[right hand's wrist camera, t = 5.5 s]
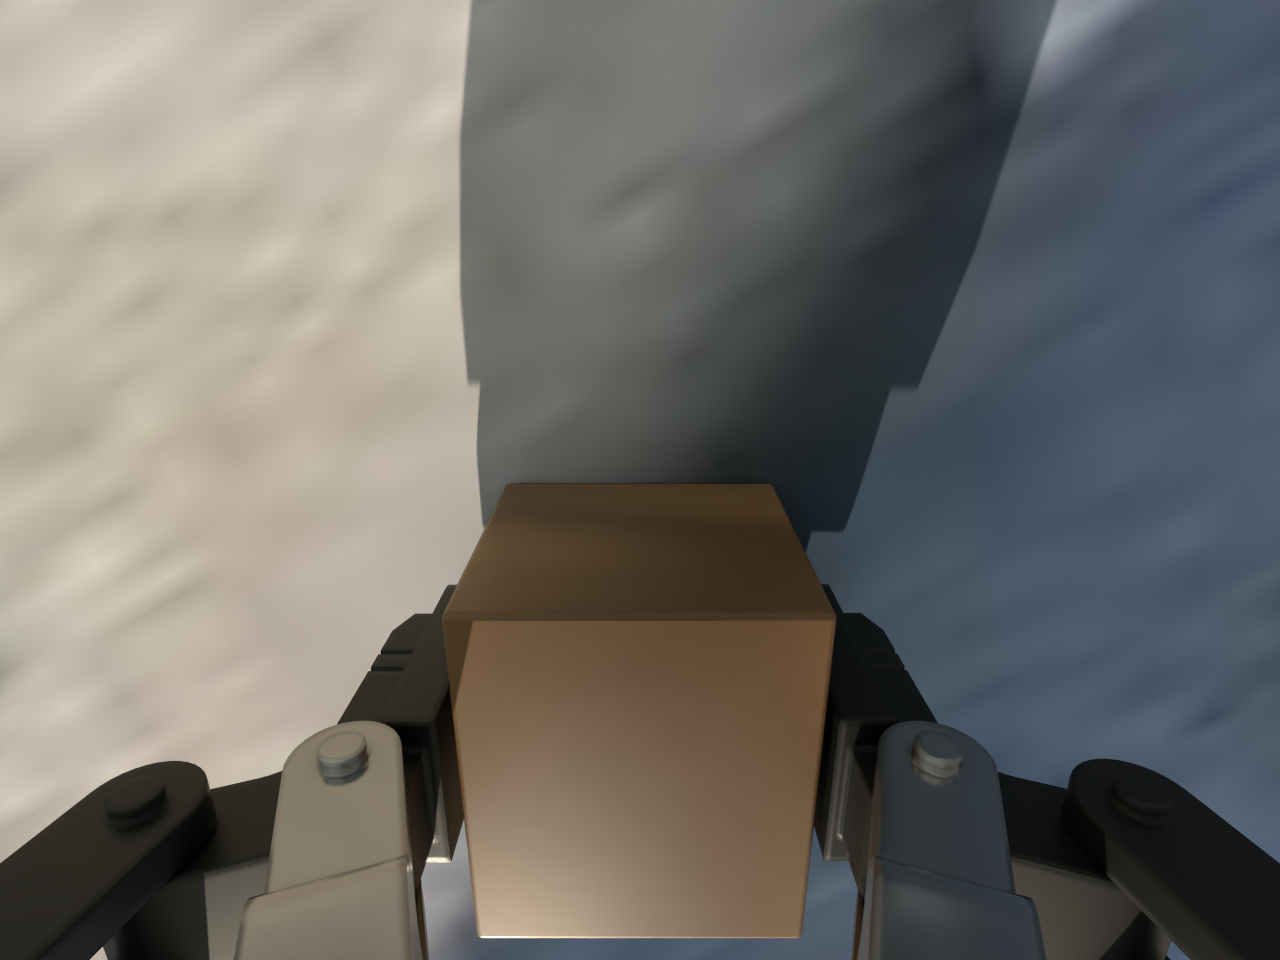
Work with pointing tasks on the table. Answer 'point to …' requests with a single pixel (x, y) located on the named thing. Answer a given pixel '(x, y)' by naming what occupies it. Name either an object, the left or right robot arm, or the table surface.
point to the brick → (639, 712)
